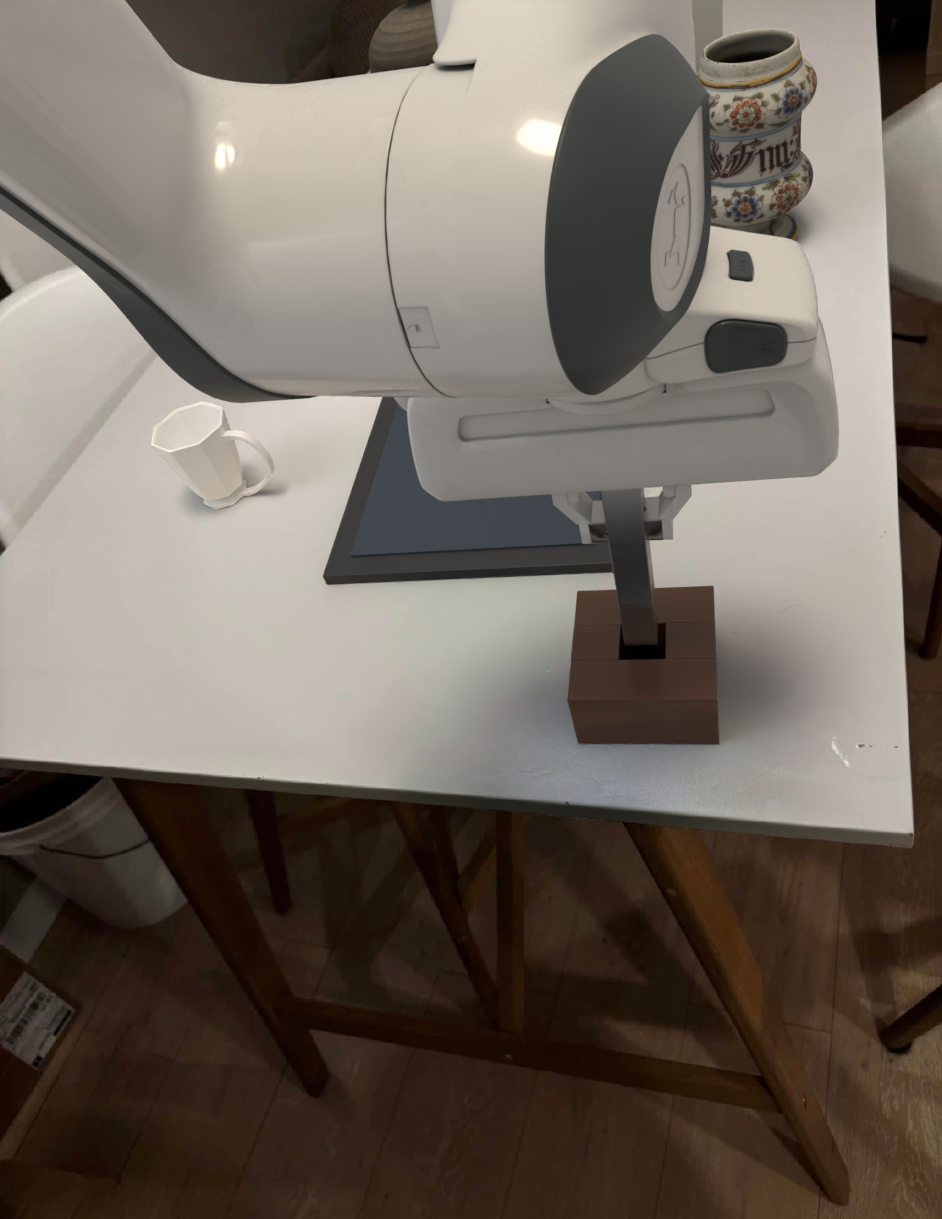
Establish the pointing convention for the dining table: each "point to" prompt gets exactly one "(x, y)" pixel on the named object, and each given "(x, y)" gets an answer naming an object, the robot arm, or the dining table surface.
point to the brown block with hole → (645, 672)
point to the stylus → (632, 568)
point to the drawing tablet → (446, 525)
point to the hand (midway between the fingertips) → (628, 533)
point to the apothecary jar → (757, 129)
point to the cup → (207, 453)
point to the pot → (404, 38)
